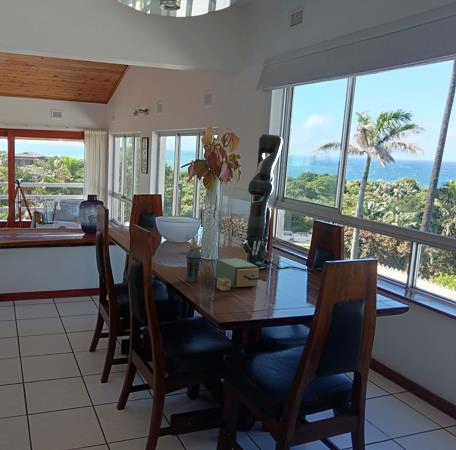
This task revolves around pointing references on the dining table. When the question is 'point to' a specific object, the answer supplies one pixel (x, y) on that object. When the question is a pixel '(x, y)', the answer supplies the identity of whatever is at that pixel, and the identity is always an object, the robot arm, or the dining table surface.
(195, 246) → the orange bird figurine
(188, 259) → the beverage cup
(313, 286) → the dining table surface
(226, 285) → the block
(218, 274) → the cabinet
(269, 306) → the dining table surface
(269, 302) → the dining table surface
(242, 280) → the drawer
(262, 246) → the robot arm
